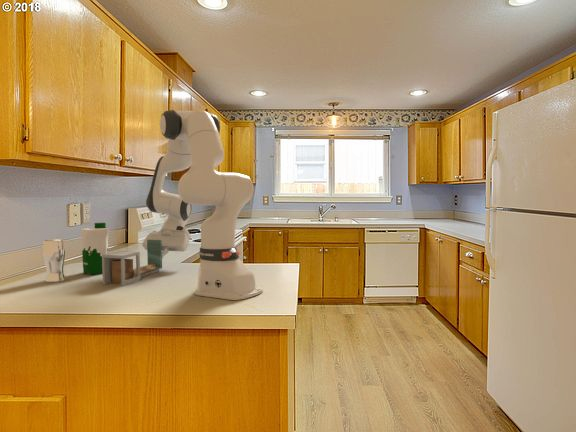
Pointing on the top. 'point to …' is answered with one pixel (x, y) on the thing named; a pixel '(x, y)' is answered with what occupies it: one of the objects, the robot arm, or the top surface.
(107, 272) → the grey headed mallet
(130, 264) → the walnut block
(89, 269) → the milk carton
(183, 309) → the top surface
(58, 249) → the beer glass
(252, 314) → the top surface
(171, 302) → the top surface
